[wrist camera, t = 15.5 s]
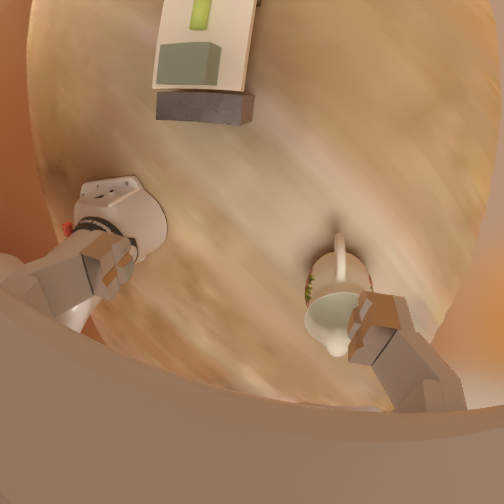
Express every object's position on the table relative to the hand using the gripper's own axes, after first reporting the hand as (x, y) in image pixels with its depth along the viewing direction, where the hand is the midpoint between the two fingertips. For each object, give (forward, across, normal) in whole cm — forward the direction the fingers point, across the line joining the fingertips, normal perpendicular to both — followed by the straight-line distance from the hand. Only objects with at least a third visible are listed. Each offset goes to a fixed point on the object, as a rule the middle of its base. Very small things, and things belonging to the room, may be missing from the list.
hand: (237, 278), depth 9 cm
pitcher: (+34, -11, +20) cm, 41 cm away
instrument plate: (+27, +13, -15) cm, 34 cm away
